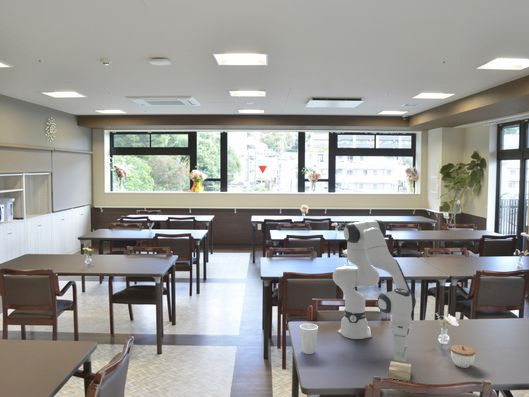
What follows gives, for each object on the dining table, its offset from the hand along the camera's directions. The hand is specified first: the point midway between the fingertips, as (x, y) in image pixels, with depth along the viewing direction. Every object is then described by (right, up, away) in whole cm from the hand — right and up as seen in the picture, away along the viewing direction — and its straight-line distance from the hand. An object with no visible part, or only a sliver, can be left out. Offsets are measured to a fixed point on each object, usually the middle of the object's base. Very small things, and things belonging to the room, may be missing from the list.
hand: (400, 355), depth 197 cm
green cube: (0, -2, 0) cm, 2 cm away
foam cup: (-39, -8, +26) cm, 48 cm away
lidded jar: (+34, -9, +12) cm, 37 cm away
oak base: (0, -9, +1) cm, 9 cm away
